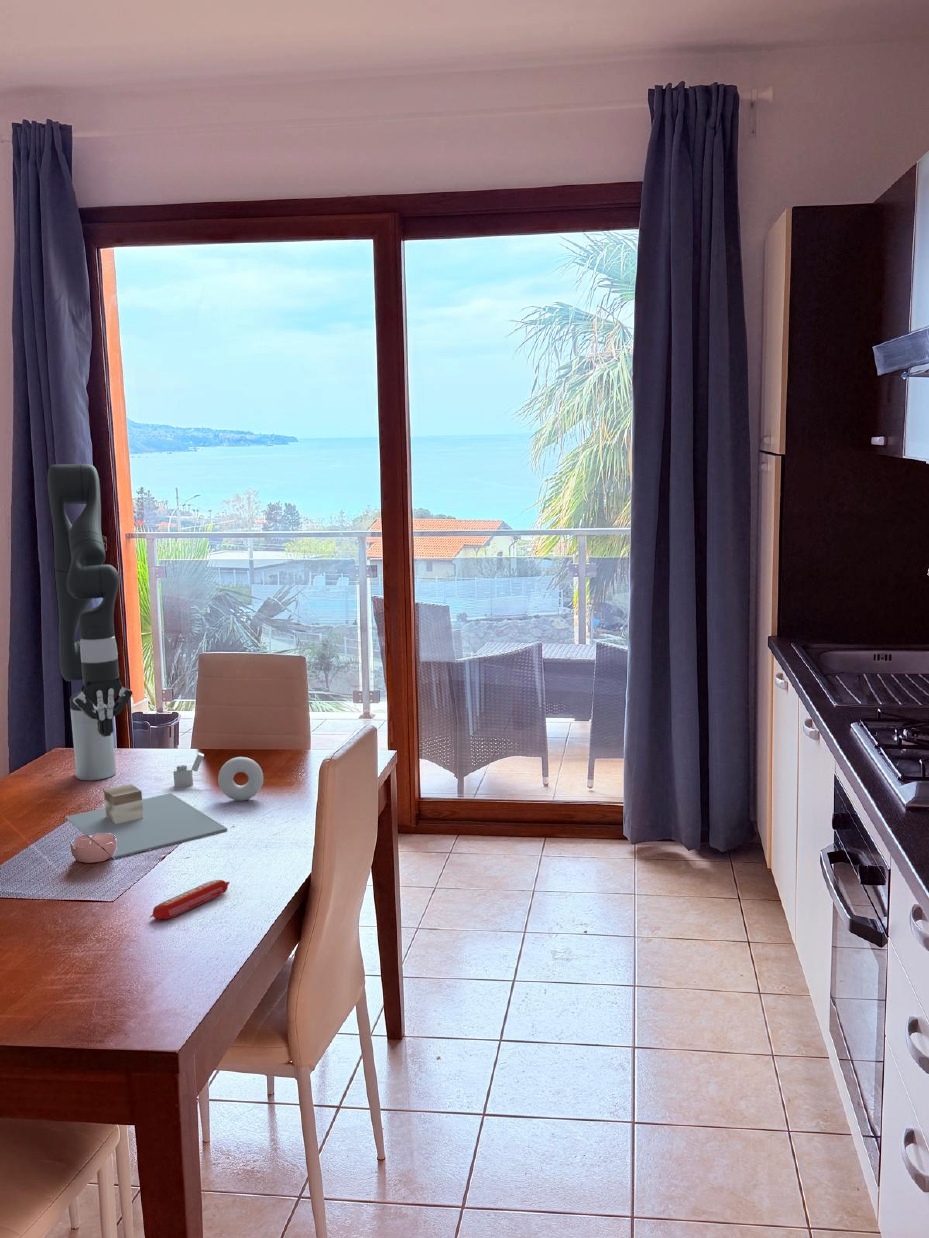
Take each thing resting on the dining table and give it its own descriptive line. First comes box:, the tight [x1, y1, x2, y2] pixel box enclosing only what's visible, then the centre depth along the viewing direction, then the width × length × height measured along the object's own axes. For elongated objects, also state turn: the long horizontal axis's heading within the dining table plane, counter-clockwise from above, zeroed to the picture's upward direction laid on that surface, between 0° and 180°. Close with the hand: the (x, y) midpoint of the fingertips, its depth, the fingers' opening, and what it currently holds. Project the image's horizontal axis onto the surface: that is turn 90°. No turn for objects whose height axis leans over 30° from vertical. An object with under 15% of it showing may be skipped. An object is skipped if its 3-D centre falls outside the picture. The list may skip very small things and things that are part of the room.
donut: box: [217, 756, 264, 802], centre depth 247 cm, size 10×4×10 cm, turn 97°
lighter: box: [172, 752, 205, 788], centre depth 258 cm, size 7×2×8 cm, turn 100°
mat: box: [64, 792, 228, 860], centre depth 233 cm, size 30×24×1 cm
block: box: [103, 783, 143, 824], centre depth 236 cm, size 6×6×6 cm
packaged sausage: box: [149, 879, 230, 920], centre depth 192 cm, size 16×4×3 cm, turn 145°
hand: (105, 735), depth 240 cm, fingers closed
